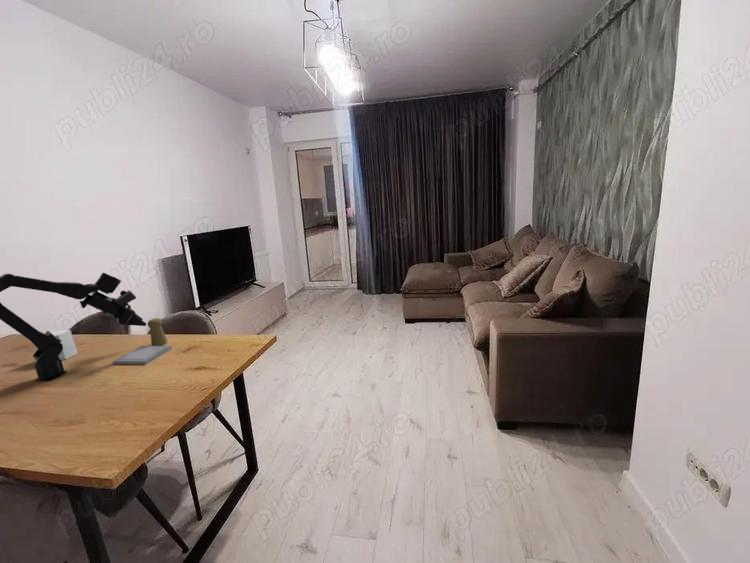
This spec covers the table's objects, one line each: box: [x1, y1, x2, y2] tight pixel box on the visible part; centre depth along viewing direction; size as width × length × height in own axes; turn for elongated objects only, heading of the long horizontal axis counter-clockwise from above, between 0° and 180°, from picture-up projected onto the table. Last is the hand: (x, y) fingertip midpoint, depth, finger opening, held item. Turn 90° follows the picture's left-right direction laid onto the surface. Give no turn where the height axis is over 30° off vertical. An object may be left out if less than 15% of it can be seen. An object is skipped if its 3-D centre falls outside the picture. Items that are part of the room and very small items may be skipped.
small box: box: [49, 330, 78, 361], centre depth 148 cm, size 8×6×10 cm
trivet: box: [112, 345, 173, 365], centre depth 143 cm, size 14×14×1 cm
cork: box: [147, 317, 168, 346], centre depth 154 cm, size 6×6×11 cm
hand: (143, 322), depth 151 cm, fingers open, 9 cm apart
